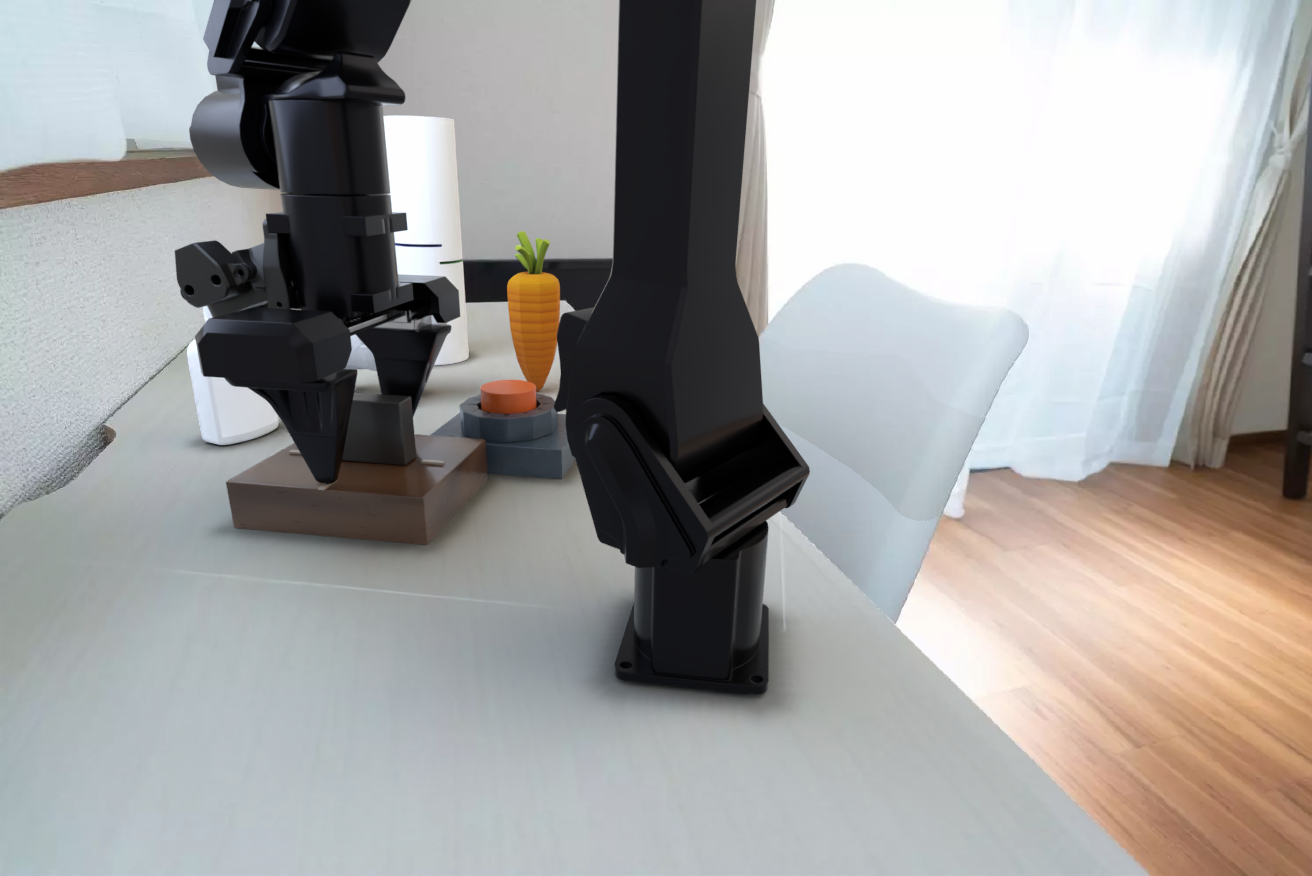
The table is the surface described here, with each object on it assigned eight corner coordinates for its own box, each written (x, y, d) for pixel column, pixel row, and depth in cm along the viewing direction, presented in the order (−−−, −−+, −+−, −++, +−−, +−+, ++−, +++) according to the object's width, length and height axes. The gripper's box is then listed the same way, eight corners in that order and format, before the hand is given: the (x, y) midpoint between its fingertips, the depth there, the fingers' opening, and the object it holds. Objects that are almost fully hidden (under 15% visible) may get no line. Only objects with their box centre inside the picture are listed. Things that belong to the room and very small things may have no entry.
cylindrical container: (399, 353, 87) (377, 118, 79) (461, 348, 90) (447, 121, 82) (408, 367, 81) (385, 114, 73) (474, 362, 84) (460, 118, 76)
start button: (527, 419, 54) (526, 395, 53) (473, 415, 54) (472, 392, 54) (542, 403, 58) (542, 381, 57) (492, 400, 58) (491, 378, 57)
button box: (562, 479, 53) (560, 425, 51) (425, 469, 54) (421, 415, 53) (587, 441, 60) (587, 393, 59) (467, 433, 62) (464, 385, 60)
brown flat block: (426, 546, 43) (421, 495, 42) (232, 529, 45) (223, 479, 43) (488, 479, 53) (486, 436, 52) (327, 466, 54) (321, 424, 53)
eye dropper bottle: (287, 436, 60) (264, 282, 56) (206, 449, 57) (176, 288, 53) (275, 421, 63) (253, 275, 59) (198, 433, 60) (169, 280, 56)
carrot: (568, 396, 72) (566, 234, 67) (517, 401, 70) (510, 234, 65) (555, 383, 76) (552, 229, 71) (506, 387, 75) (499, 230, 70)
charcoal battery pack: (417, 456, 48) (411, 392, 46) (405, 465, 46) (399, 399, 45) (328, 449, 49) (320, 386, 47) (314, 458, 47) (305, 393, 46)
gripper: (301, 188, 52) (329, 404, 57) (62, 194, 35) (132, 505, 40) (455, 192, 51) (469, 414, 56) (286, 201, 33) (329, 523, 38)
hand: (366, 455), depth 47 cm, fingers open, 8 cm apart
